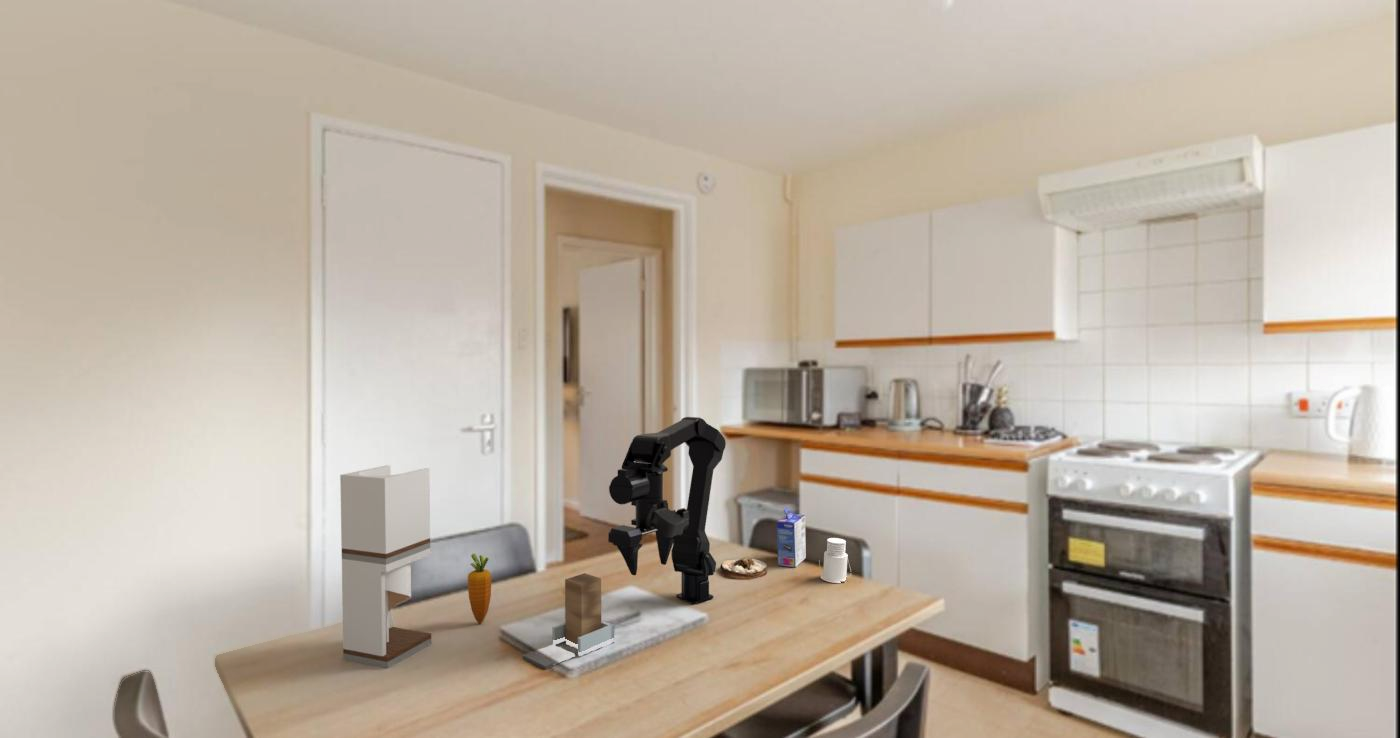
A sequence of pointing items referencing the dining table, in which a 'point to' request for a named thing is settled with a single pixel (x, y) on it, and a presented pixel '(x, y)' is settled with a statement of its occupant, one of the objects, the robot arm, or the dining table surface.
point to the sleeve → (583, 642)
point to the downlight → (835, 561)
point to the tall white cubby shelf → (381, 560)
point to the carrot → (479, 588)
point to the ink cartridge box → (791, 539)
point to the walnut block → (582, 606)
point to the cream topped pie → (744, 568)
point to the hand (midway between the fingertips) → (649, 569)
